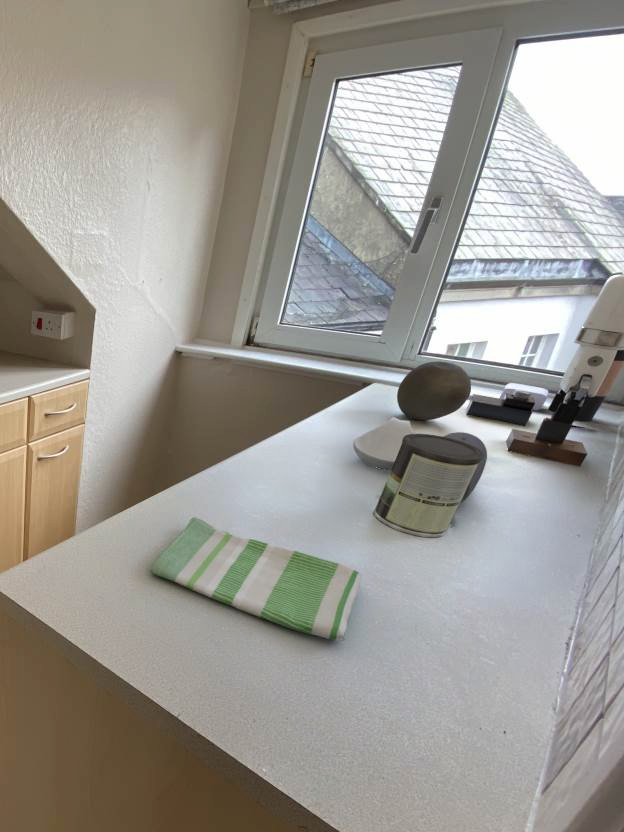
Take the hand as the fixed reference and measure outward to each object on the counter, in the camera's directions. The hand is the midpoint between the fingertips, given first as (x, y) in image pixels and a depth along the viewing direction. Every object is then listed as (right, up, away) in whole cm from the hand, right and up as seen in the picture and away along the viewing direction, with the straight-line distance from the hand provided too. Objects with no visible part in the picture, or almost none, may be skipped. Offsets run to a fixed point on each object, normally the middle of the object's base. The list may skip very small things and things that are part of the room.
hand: (559, 417), depth 120 cm
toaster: (+11, +3, +26) cm, 29 cm away
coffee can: (-55, -21, -27) cm, 64 cm away
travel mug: (+27, +1, +24) cm, 36 cm away
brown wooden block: (0, -8, +4) cm, 9 cm away
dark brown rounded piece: (-13, +2, +22) cm, 25 cm away
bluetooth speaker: (-41, -17, -17) cm, 48 cm away
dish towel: (-89, -28, -44) cm, 103 cm away
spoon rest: (-40, -9, -2) cm, 41 cm away
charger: (+31, +9, +40) cm, 51 cm away
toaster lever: (+13, +7, +22) cm, 27 cm away
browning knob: (0, -5, +2) cm, 5 cm away
